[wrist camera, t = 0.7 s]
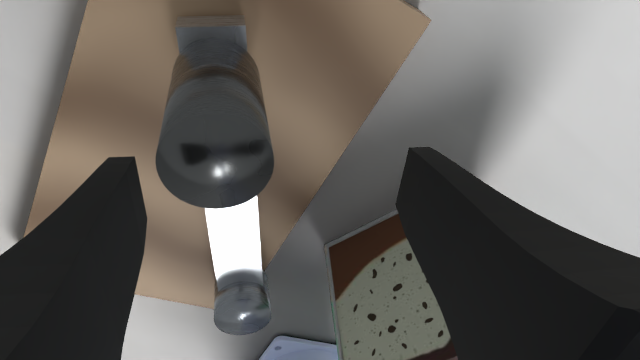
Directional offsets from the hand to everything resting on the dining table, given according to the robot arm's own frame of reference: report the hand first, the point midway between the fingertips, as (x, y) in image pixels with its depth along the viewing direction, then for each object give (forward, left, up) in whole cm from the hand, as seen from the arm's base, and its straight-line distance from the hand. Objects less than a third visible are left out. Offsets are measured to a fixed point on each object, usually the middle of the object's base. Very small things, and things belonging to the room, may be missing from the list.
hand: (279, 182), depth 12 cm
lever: (-6, -1, -8) cm, 10 cm away
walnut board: (-5, 0, -10) cm, 11 cm away
